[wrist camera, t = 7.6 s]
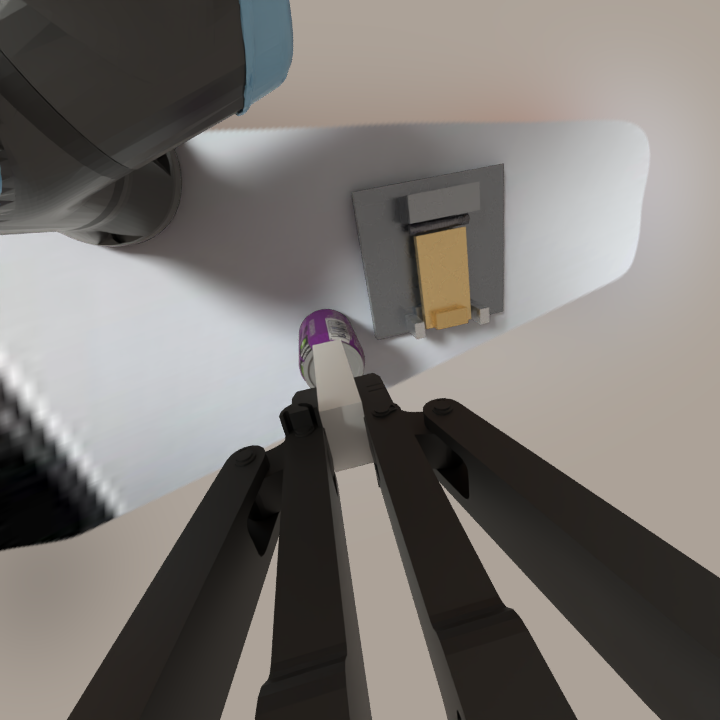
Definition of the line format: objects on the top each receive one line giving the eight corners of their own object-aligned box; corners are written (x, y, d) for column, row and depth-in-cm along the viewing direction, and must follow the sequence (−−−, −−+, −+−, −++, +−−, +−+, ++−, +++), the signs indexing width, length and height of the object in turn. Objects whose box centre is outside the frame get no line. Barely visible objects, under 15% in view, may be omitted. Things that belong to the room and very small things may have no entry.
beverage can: (288, 327, 43) (284, 363, 33) (333, 297, 43) (344, 323, 32) (318, 367, 46) (324, 412, 35) (361, 339, 46) (380, 377, 35)
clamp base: (375, 336, 46) (384, 350, 41) (351, 193, 38) (358, 189, 34) (497, 308, 47) (520, 319, 42) (496, 165, 40) (524, 157, 35)
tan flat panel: (420, 327, 43) (426, 332, 41) (407, 224, 38) (413, 223, 36) (471, 316, 44) (479, 320, 41) (464, 213, 39) (473, 211, 37)
